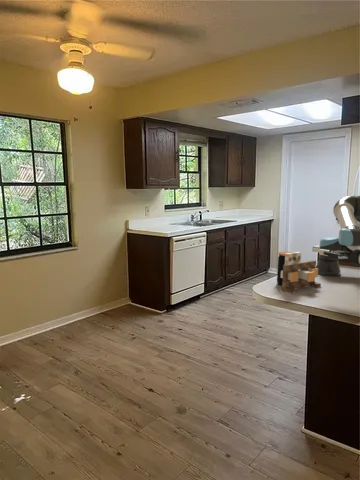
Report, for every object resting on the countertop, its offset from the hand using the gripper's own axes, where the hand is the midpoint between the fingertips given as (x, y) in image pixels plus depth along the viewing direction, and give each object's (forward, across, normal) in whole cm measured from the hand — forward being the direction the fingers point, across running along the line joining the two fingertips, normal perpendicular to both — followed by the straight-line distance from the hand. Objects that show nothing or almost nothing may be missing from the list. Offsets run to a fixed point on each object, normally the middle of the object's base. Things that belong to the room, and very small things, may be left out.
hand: (320, 251), depth 183 cm
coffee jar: (+20, -3, -21) cm, 29 cm away
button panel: (+9, -3, -21) cm, 23 cm away
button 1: (+11, -11, -15) cm, 22 cm away
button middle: (+7, -3, -16) cm, 17 cm away
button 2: (+12, +5, -16) cm, 20 cm away
